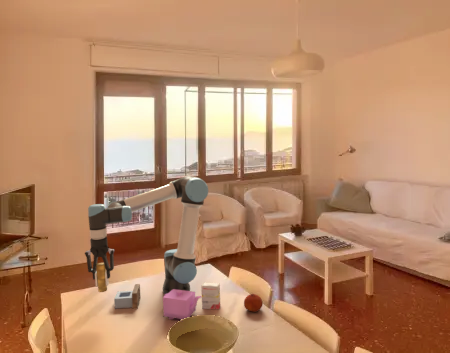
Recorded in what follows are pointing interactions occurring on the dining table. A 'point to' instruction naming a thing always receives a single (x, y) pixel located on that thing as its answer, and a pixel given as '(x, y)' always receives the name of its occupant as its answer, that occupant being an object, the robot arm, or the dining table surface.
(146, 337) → the dining table surface
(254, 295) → the fruit
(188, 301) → the teapot
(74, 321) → the dining table surface
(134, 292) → the board
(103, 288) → the golden brown tall cylinder
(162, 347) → the dining table surface
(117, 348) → the dining table surface
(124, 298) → the block
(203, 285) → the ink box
